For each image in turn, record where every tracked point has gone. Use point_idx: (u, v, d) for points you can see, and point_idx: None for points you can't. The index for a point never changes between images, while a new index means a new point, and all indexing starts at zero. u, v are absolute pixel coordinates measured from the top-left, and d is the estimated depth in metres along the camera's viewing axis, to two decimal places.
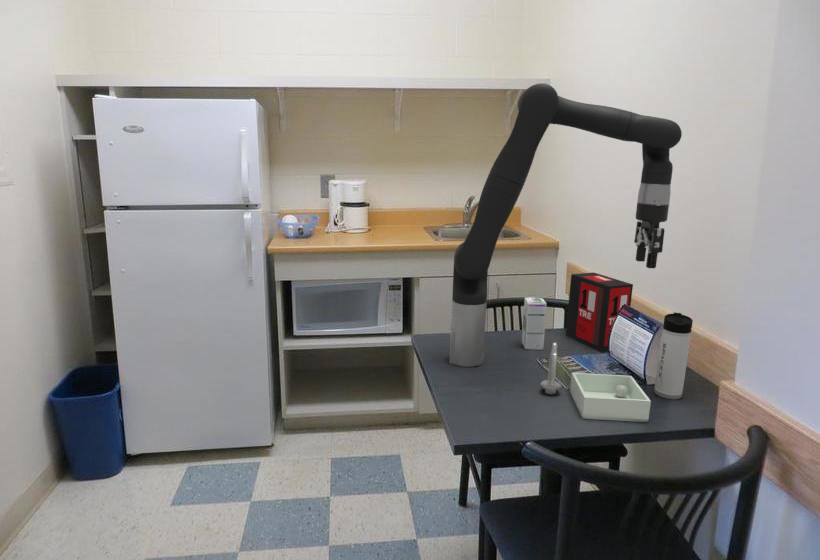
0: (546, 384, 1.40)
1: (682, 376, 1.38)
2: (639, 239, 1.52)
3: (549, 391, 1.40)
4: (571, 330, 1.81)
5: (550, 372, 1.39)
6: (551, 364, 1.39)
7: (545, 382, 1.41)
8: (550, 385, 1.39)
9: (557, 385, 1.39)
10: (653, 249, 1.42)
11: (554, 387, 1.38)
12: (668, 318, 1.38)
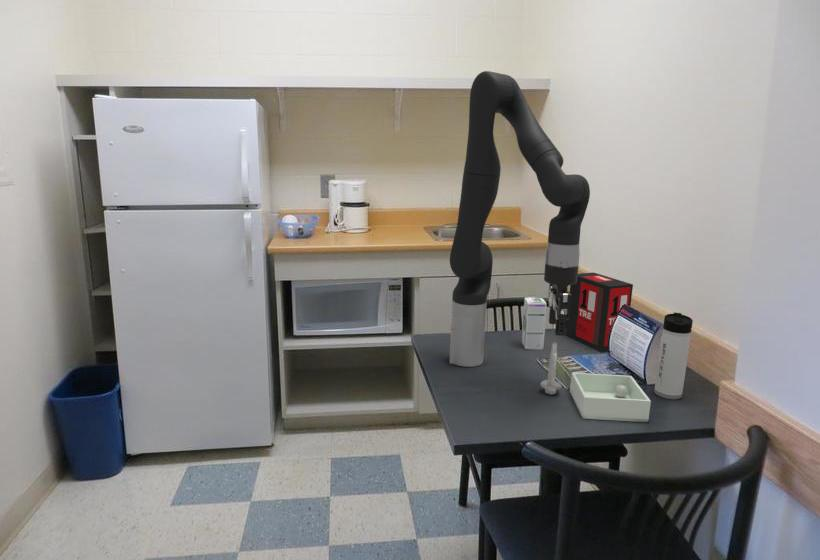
0: (546, 384, 1.40)
1: (682, 376, 1.38)
2: (550, 301, 1.39)
3: (549, 391, 1.40)
4: (571, 330, 1.81)
5: (550, 372, 1.39)
6: (551, 364, 1.39)
7: (545, 382, 1.41)
8: (550, 385, 1.39)
9: (557, 385, 1.39)
10: (559, 316, 1.29)
11: (554, 387, 1.38)
12: (668, 318, 1.38)
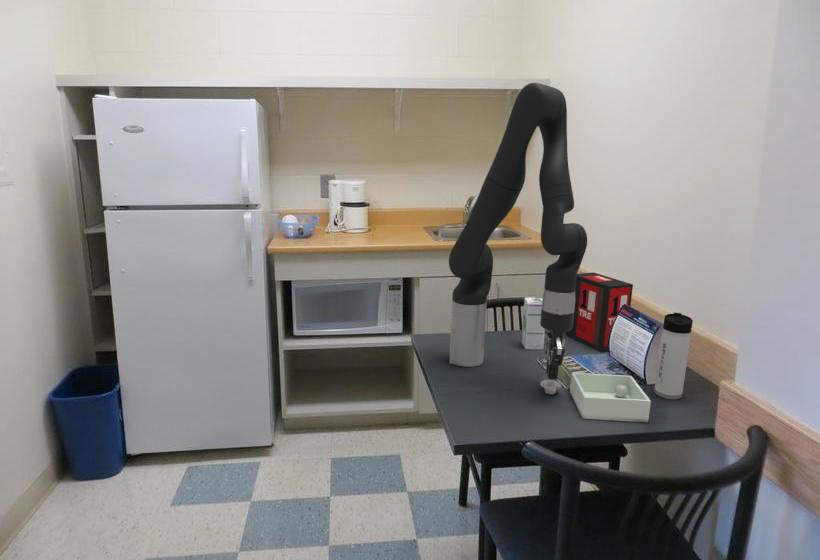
0: (546, 384, 1.40)
1: (682, 376, 1.38)
2: (547, 348, 1.39)
3: (549, 391, 1.40)
4: (571, 330, 1.81)
5: None
6: None
7: (545, 382, 1.41)
8: (550, 385, 1.39)
9: (557, 385, 1.39)
10: (552, 364, 1.35)
11: (554, 387, 1.38)
12: (668, 318, 1.38)
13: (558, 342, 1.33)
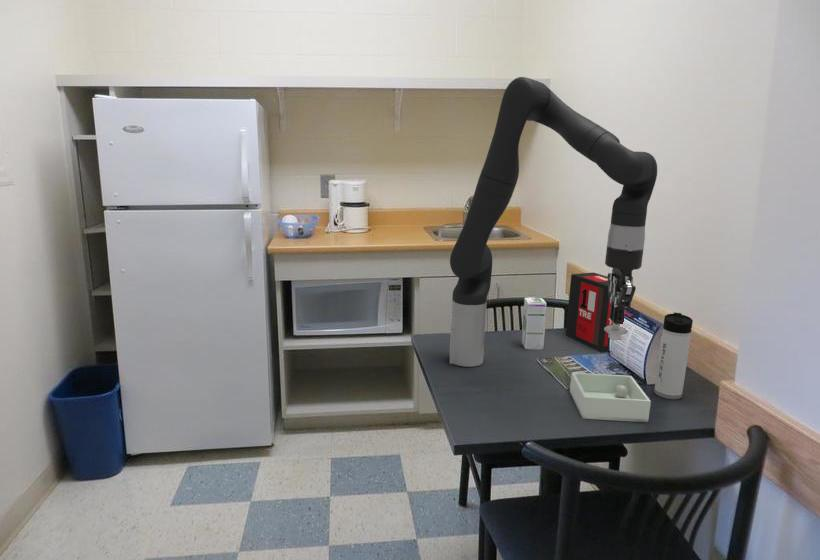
0: (611, 329, 1.29)
1: (682, 376, 1.38)
2: (612, 290, 1.29)
3: (614, 336, 1.29)
4: (571, 330, 1.81)
5: None
6: None
7: (609, 327, 1.31)
8: (615, 330, 1.29)
9: (623, 330, 1.29)
10: (619, 305, 1.25)
11: (620, 332, 1.28)
12: (668, 318, 1.38)
13: (627, 281, 1.23)
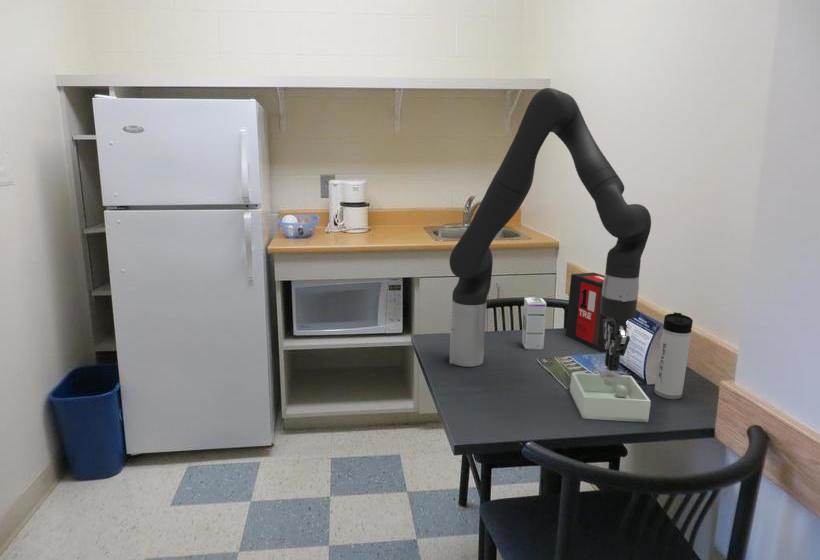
0: (606, 375, 1.32)
1: (682, 376, 1.38)
2: (607, 337, 1.32)
3: (609, 383, 1.32)
4: (571, 330, 1.81)
5: None
6: None
7: (604, 373, 1.33)
8: (610, 376, 1.31)
9: (618, 376, 1.32)
10: (614, 354, 1.27)
11: (615, 378, 1.31)
12: (668, 318, 1.38)
13: (621, 330, 1.25)
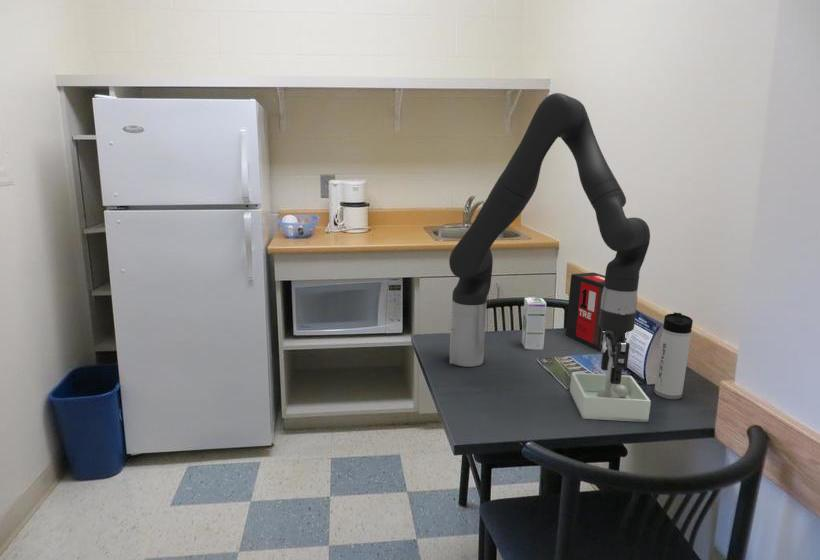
0: (603, 395, 1.33)
1: (682, 376, 1.38)
2: (604, 346, 1.34)
3: None
4: (571, 330, 1.81)
5: (607, 382, 1.33)
6: (609, 374, 1.32)
7: (601, 392, 1.34)
8: (607, 396, 1.33)
9: (615, 396, 1.33)
10: (616, 366, 1.25)
11: None
12: (668, 318, 1.38)
13: (620, 340, 1.26)
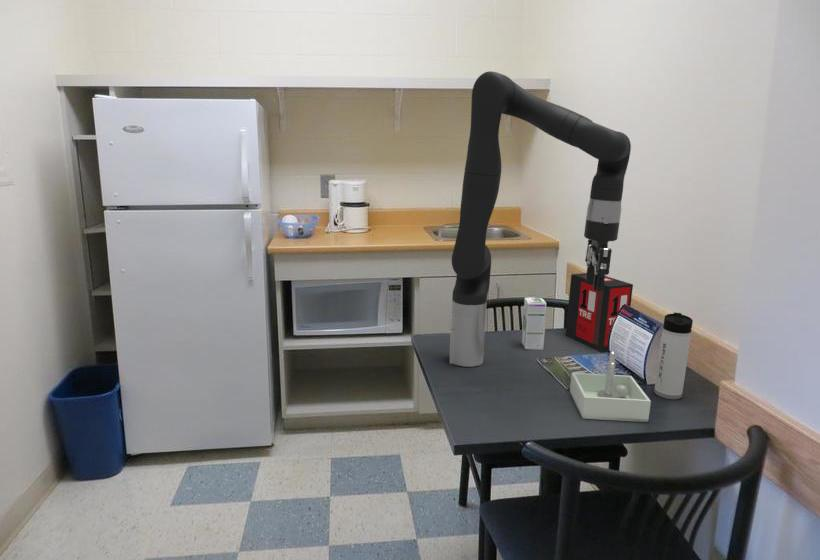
0: (603, 395, 1.33)
1: (682, 376, 1.38)
2: (589, 258, 1.40)
3: None
4: (571, 330, 1.81)
5: (607, 382, 1.33)
6: (609, 374, 1.32)
7: (601, 392, 1.34)
8: (607, 396, 1.33)
9: (615, 396, 1.33)
10: (599, 271, 1.31)
11: None
12: (668, 318, 1.38)
13: (603, 247, 1.32)
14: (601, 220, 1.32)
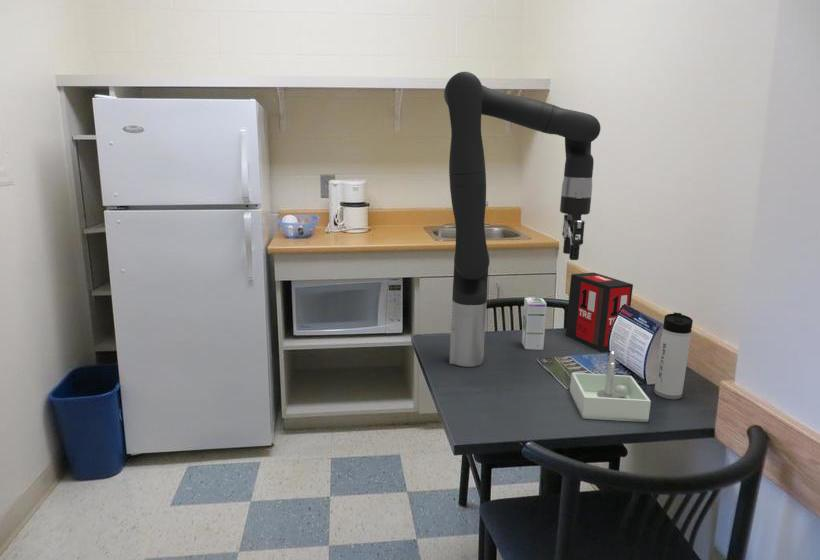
0: (603, 395, 1.33)
1: (682, 376, 1.38)
2: (565, 232, 1.54)
3: None
4: (571, 330, 1.81)
5: (607, 382, 1.33)
6: (609, 374, 1.32)
7: (601, 392, 1.34)
8: (607, 396, 1.33)
9: (615, 396, 1.33)
10: (574, 241, 1.45)
11: None
12: (668, 318, 1.38)
13: None
14: (574, 195, 1.46)
